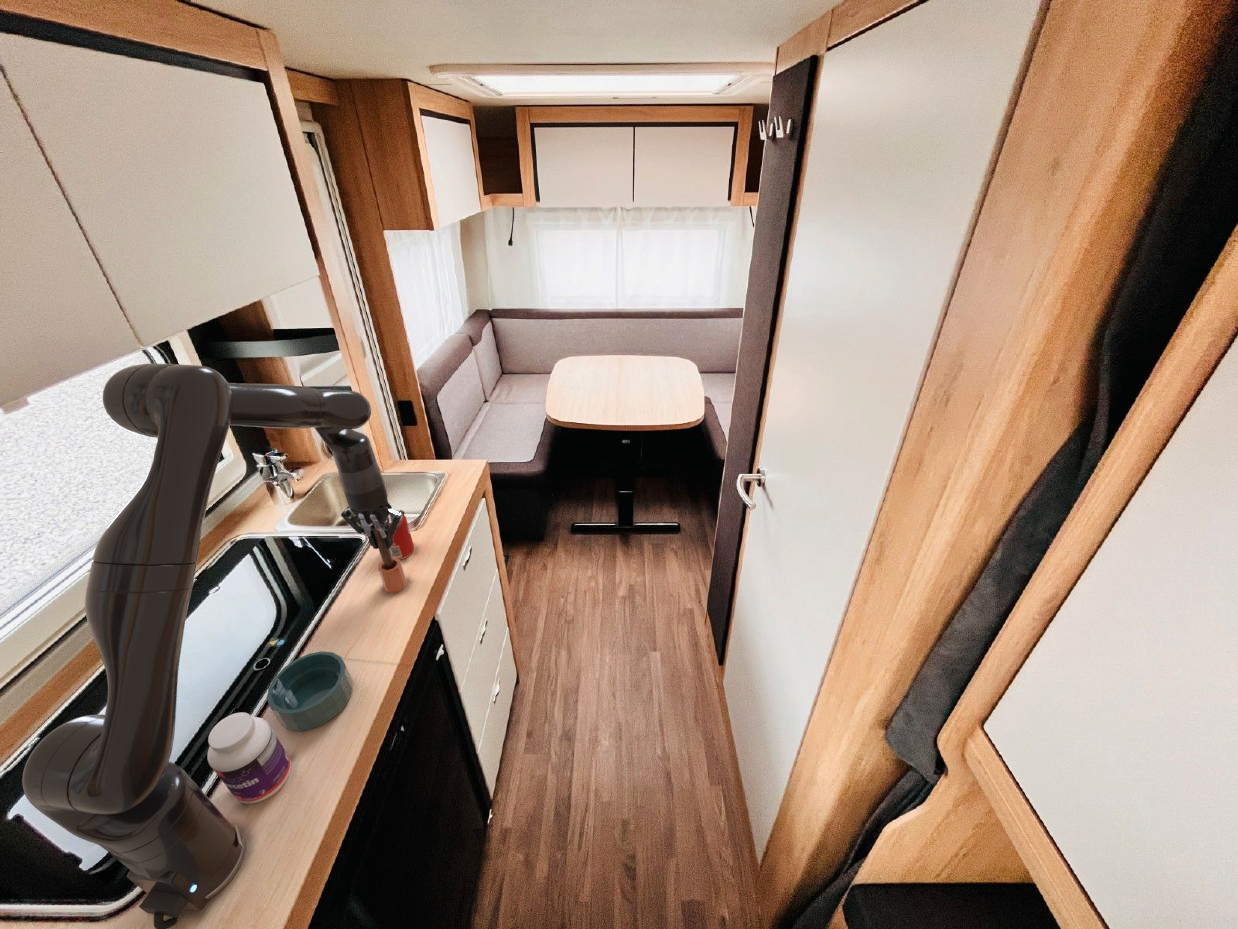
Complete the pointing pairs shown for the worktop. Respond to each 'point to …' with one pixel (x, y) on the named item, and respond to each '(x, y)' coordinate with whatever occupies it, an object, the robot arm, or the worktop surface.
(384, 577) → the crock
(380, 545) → the cooking stick
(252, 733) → the pill bottle
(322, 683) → the bowl
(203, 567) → the worktop surface
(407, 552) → the beverage can
